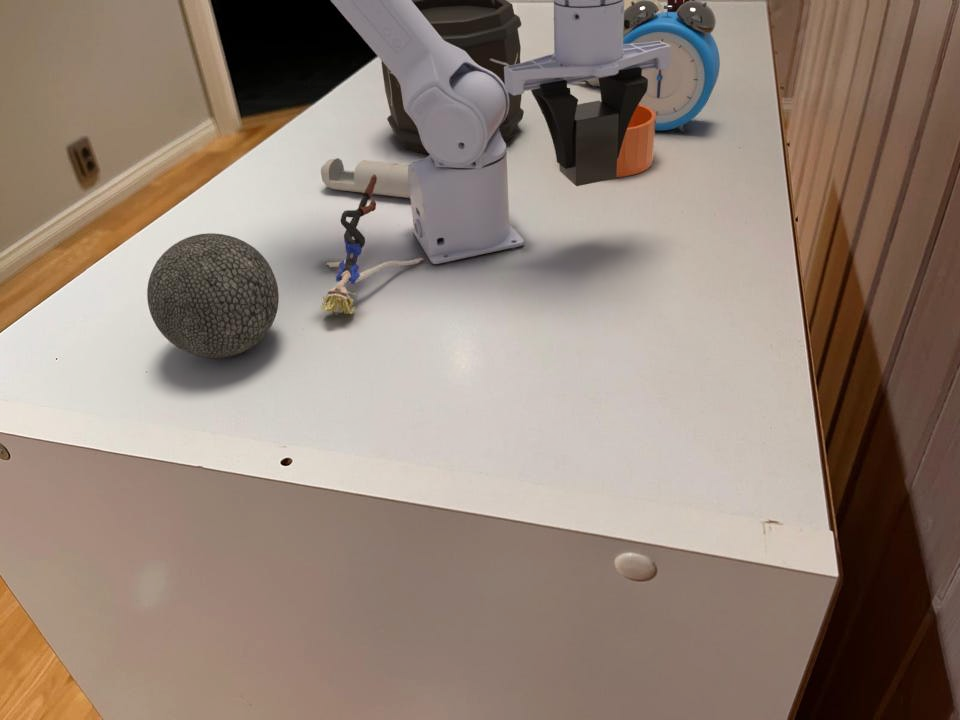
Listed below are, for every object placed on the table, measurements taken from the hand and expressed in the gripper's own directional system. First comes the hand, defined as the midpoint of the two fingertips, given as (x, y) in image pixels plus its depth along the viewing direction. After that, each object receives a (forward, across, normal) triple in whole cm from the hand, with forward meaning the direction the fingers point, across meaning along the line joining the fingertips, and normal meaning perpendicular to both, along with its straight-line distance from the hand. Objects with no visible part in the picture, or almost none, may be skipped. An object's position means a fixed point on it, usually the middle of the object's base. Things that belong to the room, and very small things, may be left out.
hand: (587, 160), depth 71 cm
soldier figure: (+9, +22, +45) cm, 51 cm away
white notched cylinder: (+9, -15, +20) cm, 26 cm away
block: (+1, 0, 0) cm, 1 cm away
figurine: (+9, -23, +2) cm, 24 cm away
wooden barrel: (+9, -3, +35) cm, 36 cm away
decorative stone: (+9, +40, +72) cm, 82 cm away
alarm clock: (+9, +22, +26) cm, 36 cm away
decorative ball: (+9, -34, -4) cm, 36 cm away
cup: (+9, +11, +18) cm, 23 cm away
